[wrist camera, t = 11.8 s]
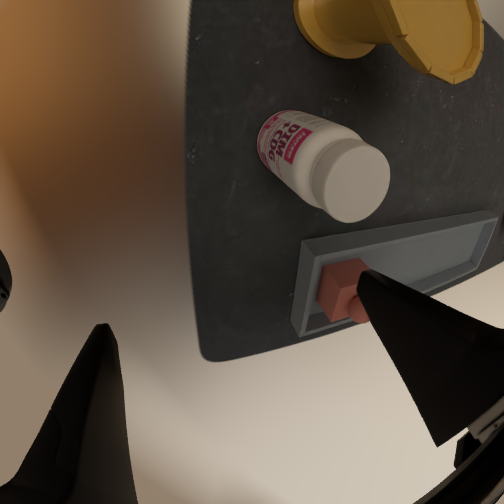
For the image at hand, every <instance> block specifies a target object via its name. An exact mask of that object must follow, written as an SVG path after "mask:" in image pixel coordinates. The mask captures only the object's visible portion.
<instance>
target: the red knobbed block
mask: <svg viewBox="0 0 504 504" xmlns="http://www.w3.org/2000/svg"><path fill="white" fill-rule="evenodd" d="M369 269H370V268H369V267H368V266H367V265H366V264H365V263H364V262H363V261H362V260H361V259H360V258H356V259H351V260H347V261H342V262H338V263H333V264H328V265H324V266H323V267H322V272H321V277H320V281H319V286H318V291H317V295H316V301H317V302H318V304H319V305H320V307H321V308H322V310H323V311H324V313H325V314H326V315H327V317H328V318H329V320H330V321H331V322H334V321H337V320H340V319H343V318H346V317H349V316H350V318H351V319H352V320H353V321H354V322H356V323H361V324H362V323H366V322H369V321H370V320H369V318H368V315H367V313H366V311H365V309H364V307H363V305H362V303H361V301H360V298H359V296H358V294H357V291H356V287H357V284H358V280H359V277H360V274H361V272H362V271H365V270H369Z"/></svg>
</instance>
